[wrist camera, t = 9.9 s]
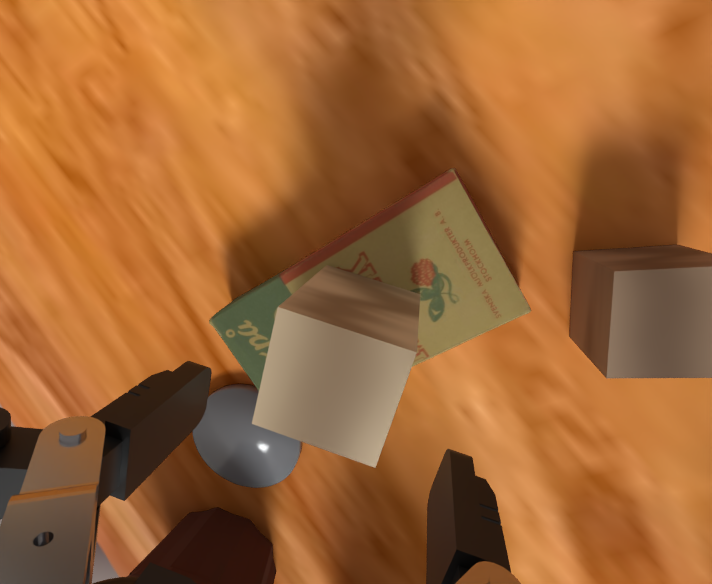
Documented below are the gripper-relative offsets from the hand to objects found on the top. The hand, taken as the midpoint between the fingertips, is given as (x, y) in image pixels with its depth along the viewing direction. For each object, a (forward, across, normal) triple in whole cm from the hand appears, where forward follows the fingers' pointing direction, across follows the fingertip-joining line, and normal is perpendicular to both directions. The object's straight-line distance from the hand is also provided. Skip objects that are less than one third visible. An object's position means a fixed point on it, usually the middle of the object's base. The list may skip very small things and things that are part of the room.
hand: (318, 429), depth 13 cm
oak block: (+9, 0, 0) cm, 9 cm away
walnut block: (+12, -13, -5) cm, 19 cm away
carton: (+13, +1, -1) cm, 13 cm away
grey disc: (+12, +6, +12) cm, 18 cm away
